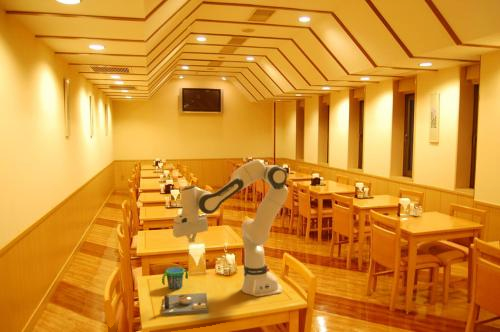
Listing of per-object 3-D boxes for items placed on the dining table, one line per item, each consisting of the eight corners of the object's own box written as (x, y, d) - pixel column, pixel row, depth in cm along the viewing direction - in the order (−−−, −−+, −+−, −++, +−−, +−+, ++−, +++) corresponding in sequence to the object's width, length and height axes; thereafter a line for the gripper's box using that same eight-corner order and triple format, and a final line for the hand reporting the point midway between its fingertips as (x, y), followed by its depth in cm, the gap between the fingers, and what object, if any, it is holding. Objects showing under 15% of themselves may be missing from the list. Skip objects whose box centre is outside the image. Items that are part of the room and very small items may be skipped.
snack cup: (184, 281, 238) (183, 264, 237) (191, 287, 230) (191, 270, 229) (158, 287, 230) (158, 270, 229) (165, 293, 221) (165, 275, 220)
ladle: (188, 298, 211) (187, 286, 210) (195, 302, 205) (194, 291, 205) (161, 306, 201) (161, 294, 201) (168, 311, 196) (167, 299, 195)
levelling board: (206, 295, 218) (206, 288, 218) (208, 313, 199) (207, 304, 198) (163, 298, 215) (163, 290, 215) (161, 316, 195) (160, 307, 195)
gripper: (203, 212, 223) (204, 236, 225) (170, 219, 210) (172, 245, 211) (210, 214, 218) (211, 239, 220) (177, 221, 205) (178, 247, 206)
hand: (191, 242), depth 215 cm, fingers closed
